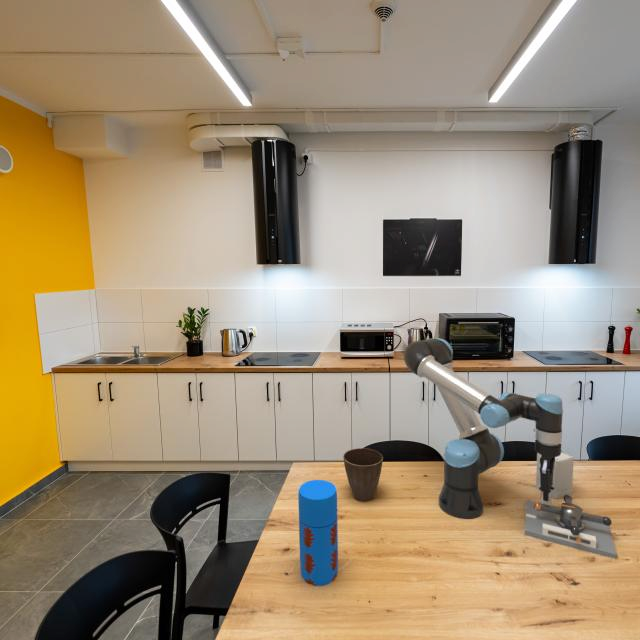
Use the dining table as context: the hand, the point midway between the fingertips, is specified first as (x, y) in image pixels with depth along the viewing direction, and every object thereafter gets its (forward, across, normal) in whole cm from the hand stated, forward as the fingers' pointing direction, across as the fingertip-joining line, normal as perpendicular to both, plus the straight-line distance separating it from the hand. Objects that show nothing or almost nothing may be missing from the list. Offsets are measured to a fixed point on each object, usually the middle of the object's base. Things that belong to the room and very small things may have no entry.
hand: (546, 508), depth 133 cm
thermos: (+4, +64, -47) cm, 80 cm away
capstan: (+3, 0, +7) cm, 8 cm away
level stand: (+5, -1, +6) cm, 8 cm away
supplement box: (+6, -24, -1) cm, 24 cm away
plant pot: (+4, +24, -58) cm, 63 cm away
